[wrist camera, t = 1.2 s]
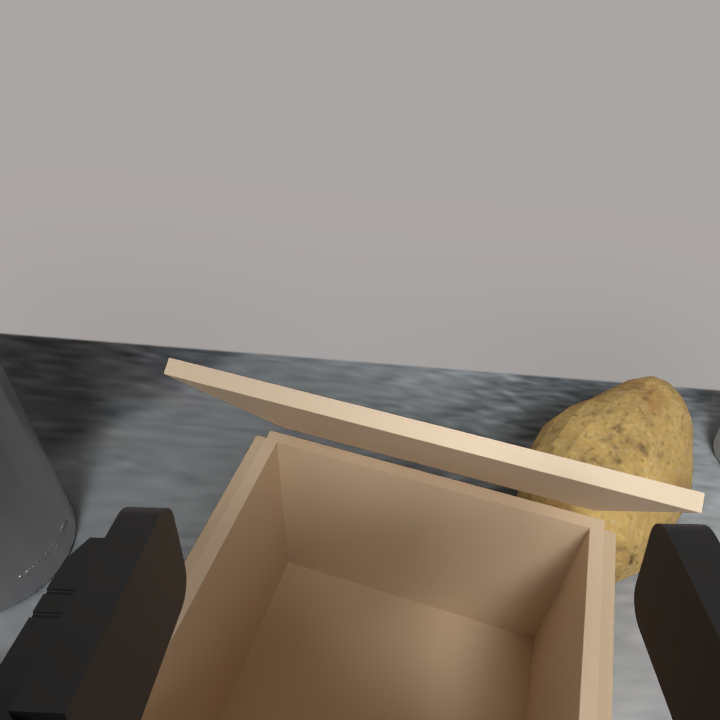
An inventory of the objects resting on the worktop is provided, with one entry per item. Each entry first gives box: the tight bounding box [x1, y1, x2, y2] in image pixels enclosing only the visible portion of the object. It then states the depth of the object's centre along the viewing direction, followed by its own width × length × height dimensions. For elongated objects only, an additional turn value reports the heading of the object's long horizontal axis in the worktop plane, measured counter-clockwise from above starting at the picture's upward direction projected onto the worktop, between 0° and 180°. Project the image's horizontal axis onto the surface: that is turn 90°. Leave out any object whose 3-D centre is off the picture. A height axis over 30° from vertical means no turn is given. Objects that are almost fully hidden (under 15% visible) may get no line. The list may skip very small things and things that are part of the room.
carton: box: [141, 431, 616, 720], centre depth 29 cm, size 17×14×12 cm
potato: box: [517, 376, 693, 582], centre depth 39 cm, size 10×14×10 cm
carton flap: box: [164, 358, 705, 513], centre depth 24 cm, size 15×13×1 cm
